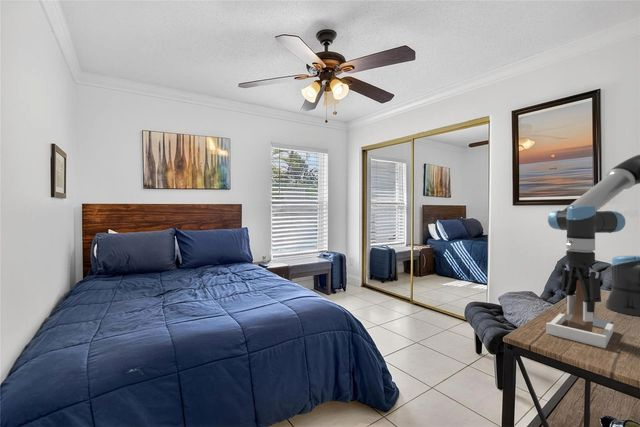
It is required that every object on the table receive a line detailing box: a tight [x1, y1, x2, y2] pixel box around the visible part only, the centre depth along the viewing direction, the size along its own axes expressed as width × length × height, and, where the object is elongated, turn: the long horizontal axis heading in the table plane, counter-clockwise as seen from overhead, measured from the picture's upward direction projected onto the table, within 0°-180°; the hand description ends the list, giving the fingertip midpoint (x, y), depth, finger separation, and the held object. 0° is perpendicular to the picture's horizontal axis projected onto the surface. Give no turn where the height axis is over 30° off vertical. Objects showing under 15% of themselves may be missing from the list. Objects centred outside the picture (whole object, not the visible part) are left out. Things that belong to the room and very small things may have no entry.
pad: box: [564, 314, 613, 330], centre depth 116 cm, size 11×12×1 cm
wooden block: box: [567, 280, 595, 333], centre depth 105 cm, size 9×4×18 cm, turn 124°
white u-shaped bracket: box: [545, 312, 615, 349], centre depth 106 cm, size 20×15×4 cm
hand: (579, 317), depth 105 cm, fingers closed on wooden block, 6 cm apart
